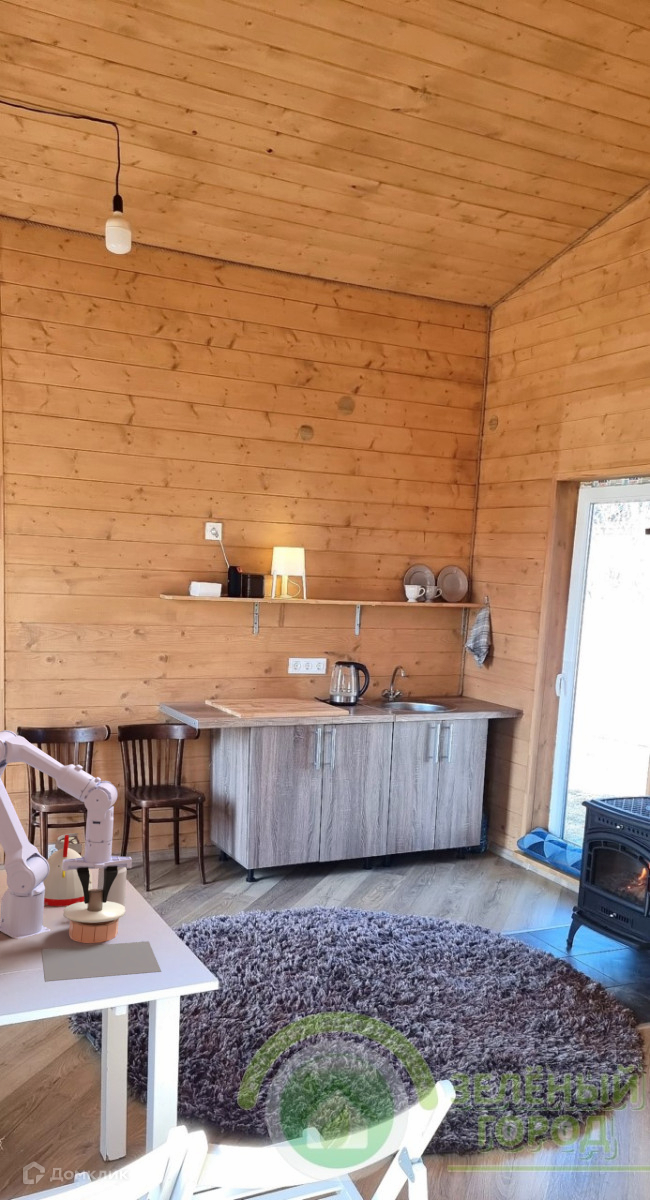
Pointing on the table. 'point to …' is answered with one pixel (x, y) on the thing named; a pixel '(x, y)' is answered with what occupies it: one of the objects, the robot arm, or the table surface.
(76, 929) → the bowl
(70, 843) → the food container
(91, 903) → the lid
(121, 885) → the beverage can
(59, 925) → the table surface
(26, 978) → the table surface
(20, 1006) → the table surface
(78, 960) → the mat
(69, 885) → the kitchen timer
